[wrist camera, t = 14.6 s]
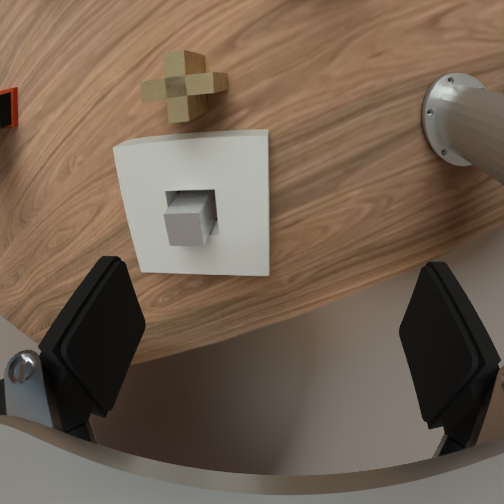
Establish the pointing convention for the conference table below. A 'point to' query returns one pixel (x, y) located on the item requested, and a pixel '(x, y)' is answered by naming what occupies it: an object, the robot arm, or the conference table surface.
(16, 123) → the power tool
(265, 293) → the conference table surface
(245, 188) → the socket block
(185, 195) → the square bar
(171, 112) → the cross bar
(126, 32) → the conference table surface
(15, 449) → the robot arm
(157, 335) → the conference table surface
